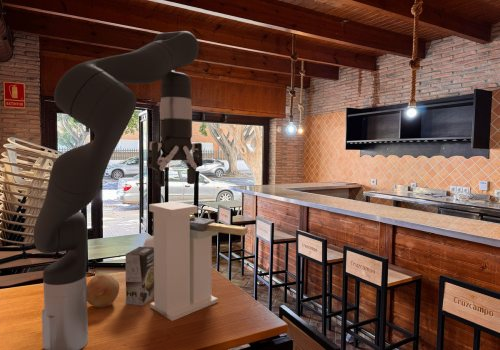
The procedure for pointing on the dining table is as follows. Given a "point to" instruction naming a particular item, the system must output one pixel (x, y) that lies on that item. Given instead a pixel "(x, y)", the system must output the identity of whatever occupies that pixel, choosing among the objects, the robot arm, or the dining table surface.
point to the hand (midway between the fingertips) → (176, 185)
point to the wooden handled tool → (215, 226)
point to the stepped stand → (180, 261)
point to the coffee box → (140, 275)
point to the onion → (102, 290)
